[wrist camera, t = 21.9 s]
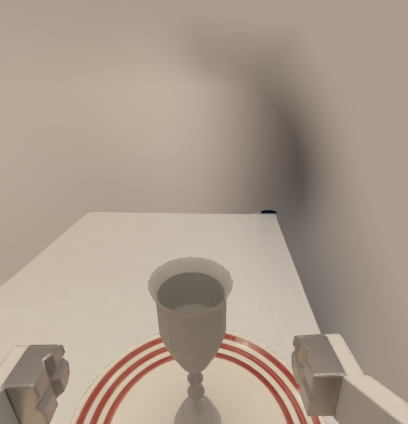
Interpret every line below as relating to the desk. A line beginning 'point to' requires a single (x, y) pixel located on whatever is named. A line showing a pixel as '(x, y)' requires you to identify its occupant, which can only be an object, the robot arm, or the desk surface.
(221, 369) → the dinner plate
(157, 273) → the chalice
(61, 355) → the robot arm
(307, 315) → the desk surface
